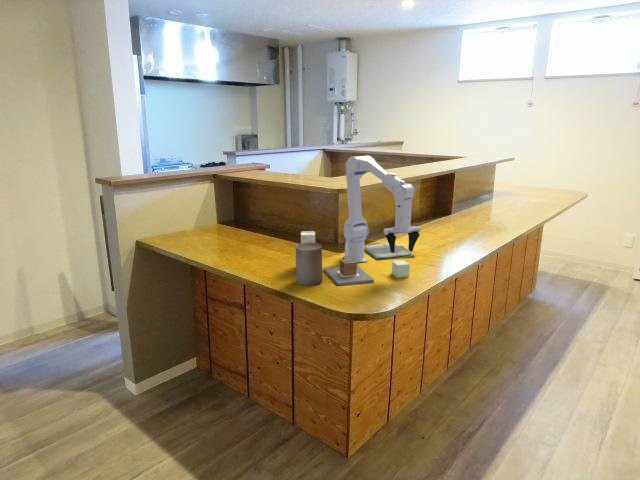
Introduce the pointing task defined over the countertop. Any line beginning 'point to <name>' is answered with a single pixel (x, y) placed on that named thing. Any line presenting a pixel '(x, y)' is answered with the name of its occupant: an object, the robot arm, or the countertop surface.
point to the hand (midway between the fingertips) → (401, 251)
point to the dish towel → (388, 252)
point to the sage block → (400, 268)
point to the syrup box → (307, 237)
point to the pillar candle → (309, 264)
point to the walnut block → (348, 267)
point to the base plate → (347, 280)
